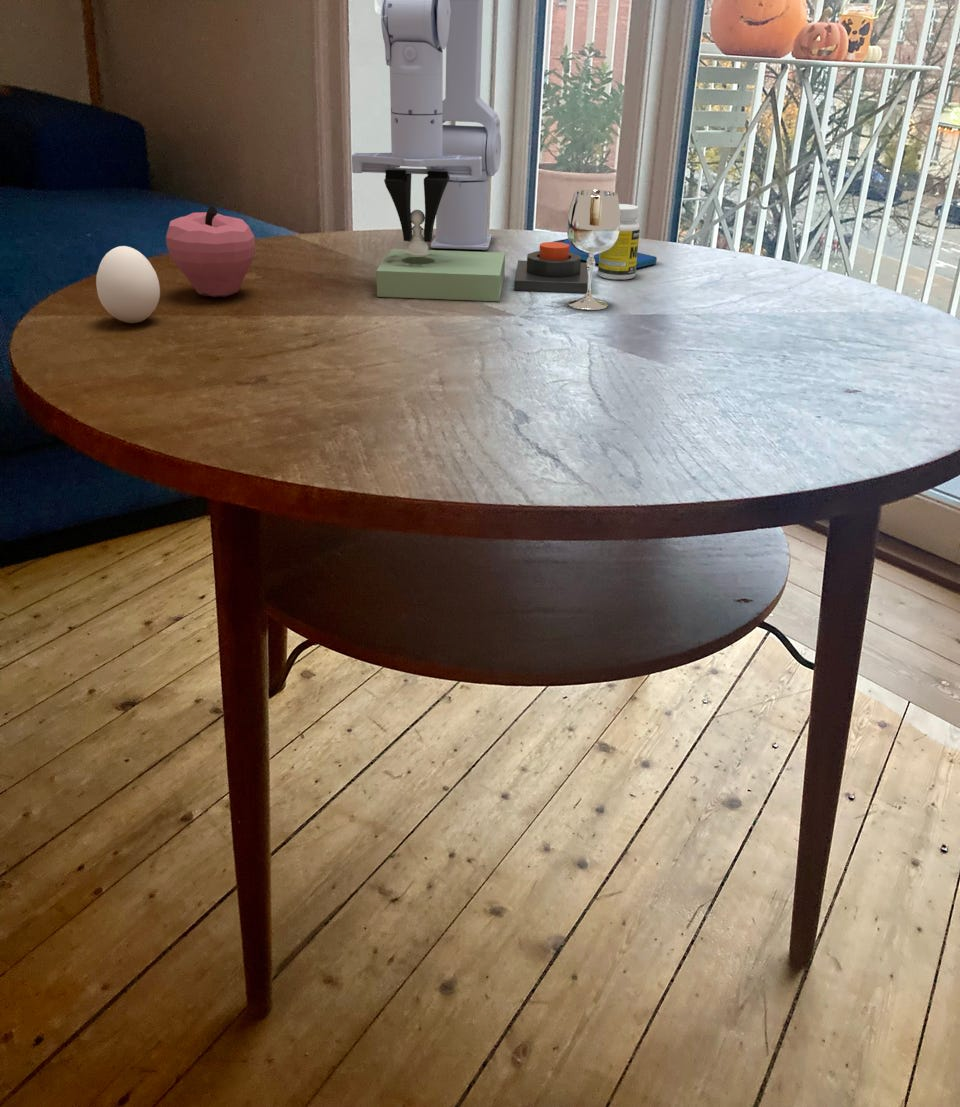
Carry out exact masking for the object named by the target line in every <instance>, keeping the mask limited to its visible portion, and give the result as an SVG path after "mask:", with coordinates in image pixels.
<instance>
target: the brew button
mask: <svg viewBox="0 0 960 1107" xmlns="http://www.w3.org/2000/svg"><path fill="white" fill-rule="evenodd" d="M569 248H570V245H569V244H566V243H561V242H553V241H545V242H541V243H540V244H539V250H538V251H539V258H542V259H548V260H565V259H569Z"/></svg>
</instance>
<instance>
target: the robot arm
mask: <svg viewBox="0 0 960 1107" xmlns="http://www.w3.org/2000/svg"><path fill="white" fill-rule="evenodd" d="M483 11H484V0H382V2H381V10H380V12H381V13H380V22H381V33H382V39H383V44H384V52H385V53H384V54H385V56H384V57H385V64H386V66H388V67H389V87H390V88H389V89H390V90H389V91H390V92H389V94H390V97H389V98H390V136H391V137H390V142H391V144H390V145H391V152H354V153H353V154H351V172H352V173H353V174H362V173H376V174H385V176H384V179H383V181H384V184H385V187H386V189H387V191H388V193H389V196H390V198H391V199H392V202H393V204H394V207H395V210H396V213H397V216H398V219H399V222H400V226H401V232H402V238H403V242H410V239H411V237H412V235H413V230H412V229H411V228H412V227H413V223H412V222H411V220H410V214H411V213H412V208H411V204H412V203H411V202H412V200H411V198H412V175H426V176H425V177H424V178H423V196H424V216H425V220H424V226H423V237H424V242H426V243H430V248H431V249H449V250H451V249H452V250H475V251H476V250H477V251H481V250H482V251H487V250H489V248H490V244H491V242H492V239H493V234H492V233H488V214H489V213H488V212H489V179H490V178H491V177H494V176H495V175H496V173H498V172H499V169H500V164H501V158H502V157H501V156H502V136H501V120H500V118H499V114H498V113H497V112H496V111H495V110H494V109H493V108H492V107H491V106H490V105H489V104H487V103H486V102H485V101H484V100H483V99H482V98H481V79H482V51H483V50H482V48H483V47H482V46H483V45H482V44H483V13H484V12H483ZM443 50H445V94H444V95H445V96H443V92H444V90H443V88H444V86H443V83H444V80H443V76H444V74H443V72H444V71H443V68H444V67H443V66H444V62H443V60H444V58H443V57H444V56H443V54H444V53H443ZM444 97H445V98H444ZM443 98H444V99H443ZM446 122H464V123H478V124H481V125H482V126H479V125H456V124H455V125H454V124H445V123H446ZM434 225H435V235H434V238H433V232H434Z"/></svg>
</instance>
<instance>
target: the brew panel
mask: <svg viewBox="0 0 960 1107" xmlns="http://www.w3.org/2000/svg"><path fill="white" fill-rule="evenodd" d="M539 251H540V250H538V251H537V250H536V251H533V252H530V253H528V254H527V256H526V260H521V259H520V260H519V259H518V260H517V264H516V271H515V276H514V291H521V292H522V291H523V292H544V293H545V292H547V293H548V292H549V293H575V294H576V293H577V294H585V293H586V290H587V279H588V276H587V268H586V262H582V260H581V256H580V255H577V254H575V253H571V252H569V259H565V260H548V259H542V258H539Z"/></svg>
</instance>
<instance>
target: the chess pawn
mask: <svg viewBox="0 0 960 1107" xmlns="http://www.w3.org/2000/svg"><path fill="white" fill-rule="evenodd" d="M410 220H411V222H412V228H411V229H412V237H411V239H410V241H409V243H408V245H407V249H408V250H407V251H406V253H407V254H408V255H411V256H427V255H428V254H430V252H429V251H428V250H429V245H428V244H427V243H428V242H424V234H423V231H424V227H422V226H421V225H423V223H425V212H424V211H423V210H420V209H414V210H411V214H410Z"/></svg>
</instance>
